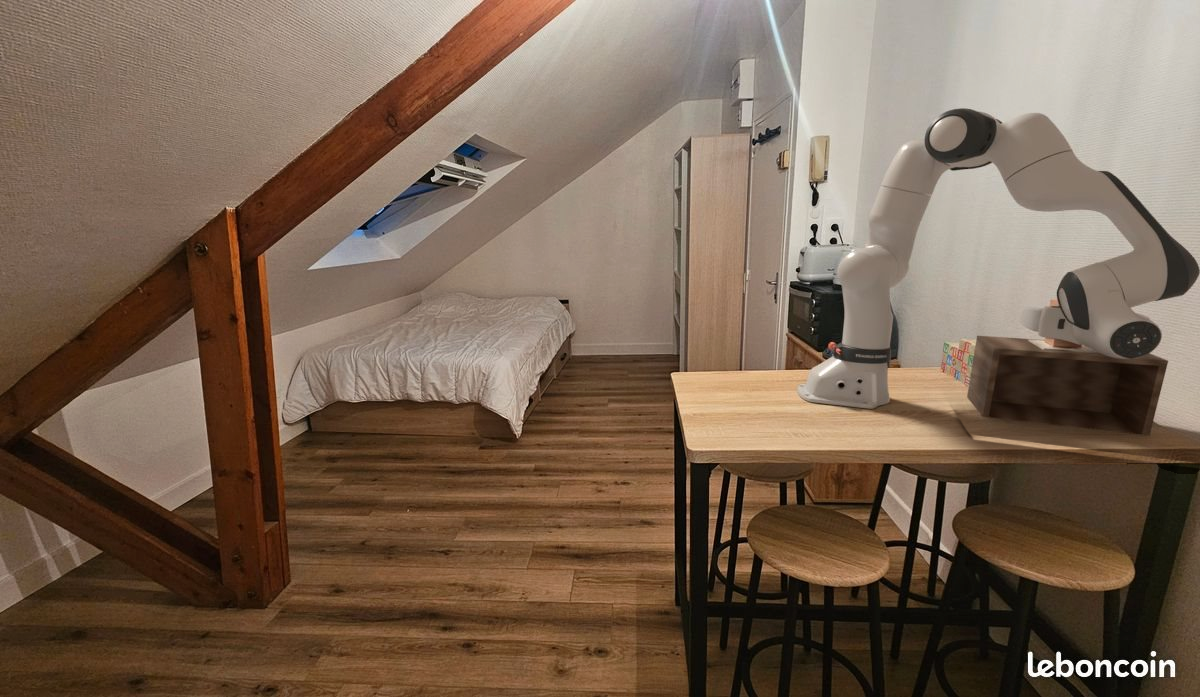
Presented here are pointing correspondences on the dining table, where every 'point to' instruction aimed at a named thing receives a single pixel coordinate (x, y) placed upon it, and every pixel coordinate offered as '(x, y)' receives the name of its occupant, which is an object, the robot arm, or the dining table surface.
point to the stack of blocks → (959, 359)
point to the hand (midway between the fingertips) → (1067, 314)
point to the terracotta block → (1055, 341)
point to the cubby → (1064, 385)
